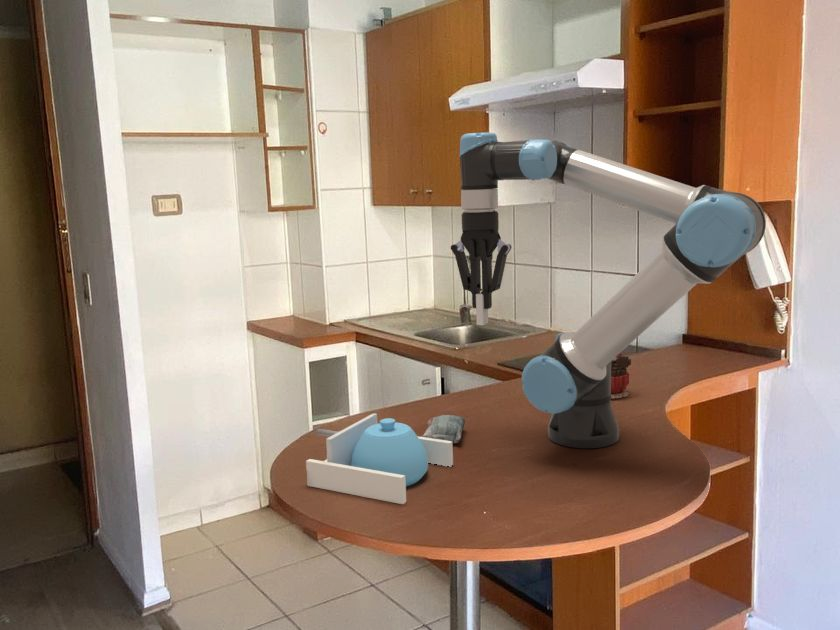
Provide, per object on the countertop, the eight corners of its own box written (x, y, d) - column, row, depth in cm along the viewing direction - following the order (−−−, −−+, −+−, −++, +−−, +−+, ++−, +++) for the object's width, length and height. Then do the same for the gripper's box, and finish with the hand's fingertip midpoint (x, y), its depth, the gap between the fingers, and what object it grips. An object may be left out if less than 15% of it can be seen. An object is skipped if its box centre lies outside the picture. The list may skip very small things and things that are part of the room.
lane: (453, 465, 155) (452, 441, 154) (403, 504, 138) (401, 477, 137) (364, 450, 165) (363, 428, 164) (307, 485, 148) (305, 460, 147)
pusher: (379, 455, 161) (377, 413, 160) (333, 484, 147) (330, 439, 145) (343, 449, 166) (340, 409, 164) (295, 477, 151) (292, 433, 149)
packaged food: (421, 448, 166) (420, 426, 165) (428, 430, 177) (427, 409, 177) (461, 449, 165) (461, 427, 164) (466, 431, 176) (465, 410, 175)
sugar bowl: (366, 498, 141) (363, 437, 139) (341, 470, 155) (338, 415, 153) (441, 482, 147) (439, 424, 145) (410, 457, 160) (408, 404, 158)
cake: (582, 397, 197) (582, 328, 194) (596, 388, 205) (596, 322, 202) (623, 403, 192) (624, 332, 188) (635, 393, 199) (636, 325, 196)
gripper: (516, 209, 158) (518, 322, 162) (458, 209, 164) (461, 318, 168) (502, 211, 151) (504, 329, 156) (443, 211, 157) (446, 325, 162)
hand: (482, 323), depth 162 cm, fingers closed
